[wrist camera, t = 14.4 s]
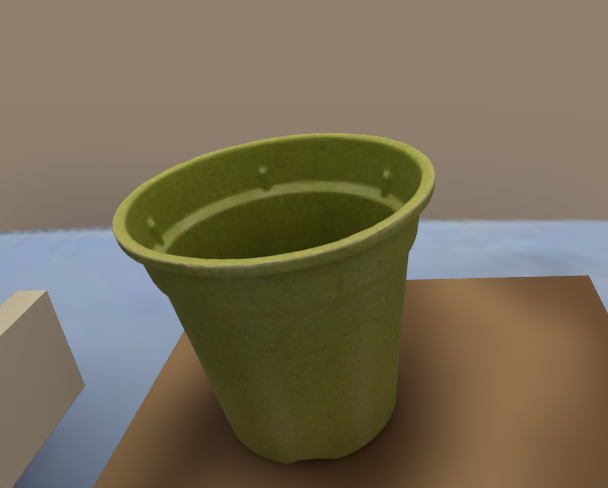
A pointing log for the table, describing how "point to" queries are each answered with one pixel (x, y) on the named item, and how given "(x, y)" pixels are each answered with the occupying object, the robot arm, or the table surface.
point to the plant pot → (288, 280)
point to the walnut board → (419, 402)
